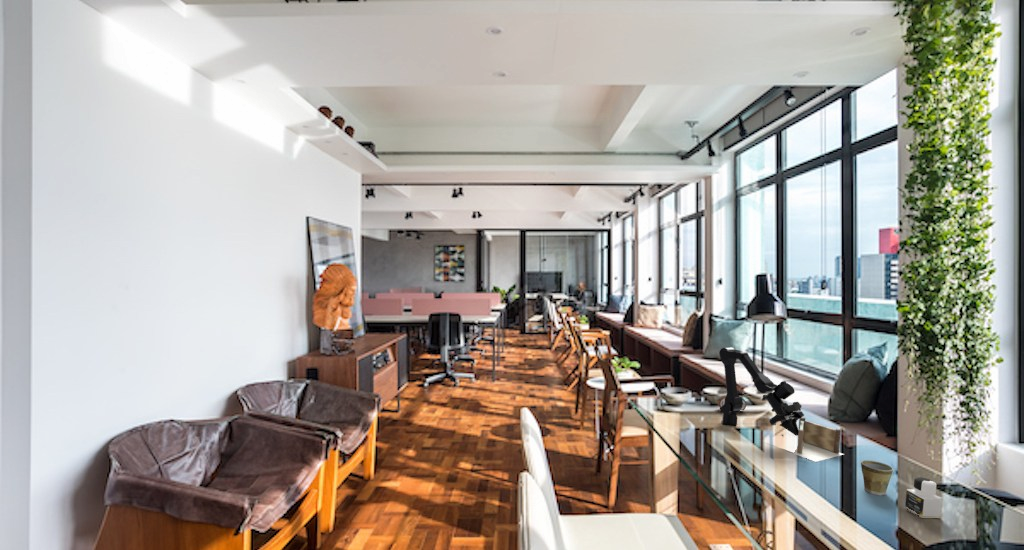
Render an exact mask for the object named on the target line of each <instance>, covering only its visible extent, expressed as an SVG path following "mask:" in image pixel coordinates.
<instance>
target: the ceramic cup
mask: <svg viewBox="0 0 1024 550" xmlns="http://www.w3.org/2000/svg"><path fill="white" fill-rule="evenodd" d="M860 468H861V472H862V478H863V487H864V491H866V492H868V493H869V494H872V495H877V496H886V494H887V489H888V486H889V484H890V481H891V478H892V476H893V472H894V468H893V467H892V466H891V465H889V464H886V463H884V462H880V461H876V460H869V459H868V460H867V459H866V460H861V461H860Z"/></svg>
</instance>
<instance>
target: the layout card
mask: <svg viewBox="0 0 1024 550" xmlns="http://www.w3.org/2000/svg"><path fill="white" fill-rule="evenodd" d="M803 447H804V448H802V453H798V452H797V449H796V450H795V452H794V453H792V454H794V455H796V456H799V457H802V458H803V459H805V458H807V459H809V460H808V461H810V460H812V461H811V462H813V461H814V462H813V463H815V462H816V463H818V462H822V461H824V460H828V459H832V458H836V457H840V456H842V455H843V456H844V455H845V453H842V452H839V454H836V453H834V452H833V451H831V450H828V449H825V448H822V447H819V446H816V445H813V444H810V443H807V442H804V441H803ZM807 459H806V460H807Z"/></svg>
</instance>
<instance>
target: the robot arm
mask: <svg viewBox="0 0 1024 550" xmlns="http://www.w3.org/2000/svg"><path fill="white" fill-rule="evenodd" d="M718 352H719V353H718V354H719V358H720V361H721V363H722V364H723V366H724V367H723V368H724V376H725V386H726V394H725V395H726V397H725V404H724V405H723V406H722V407H719V411H720V413H722V415H721V416H722V417H721V424H722V425H723V426H727V427H728V426H729V427H737V425H738V416H737V414H739V413H740V412H739V411H740V410H741V408H742V405H743V402H742V398H743V396H740V395H739V393H738V387H737V378H736V367H735V364H736V362H737V360H739V362H740V363H741V365H742V366H743V367H744V368H745V369H746V371H747V373H748V374H749V375H750V376H751V378H752V379H753V383H754V386H755V388H756V390H757V392H759V393H761V394H762V399H761V401H767V402H768V404H769V405H770V407H771V408H772V409H771V412H772V413H775V414H776V415H774V416H773V417H771V418H770V419H769V424H770V426H771V427H775V426H776V425H777V423H779V422H780V424H779V426H780V427H782V428H783V429H785V430H787V431H788V432H790V433H792V434H793V435H794V436H796V437H798V432H799V426H798V423H797V422H798V420H799V419H800V418H801V417H804V416H805V414H804V413H803V411H802V404H801V403H800V402H799V401H793V402H792V404H788V403H787V402H784V401H783V400H786V399H788V398H789V397H791V396H792V395H794V394H795V389H794V387H793V385H790V384H789V383H787V381H786V380H783V381H781V382H780V383H779V384H775V383H774V382H773V381H772V379H770V378H769V377H768V376H766V375H765V374H763V373H762V371H761V370H760V369H759V367H758V366H757V365H756V364H755V362H754V361H753V360H752V358H751V357H750V355H749V353H748V352H747V351H743V350H738V349H736V348H734V347H722V348H721V349H720V350H719V351H718Z"/></svg>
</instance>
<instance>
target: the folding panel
mask: <svg viewBox="0 0 1024 550" xmlns="http://www.w3.org/2000/svg"><path fill="white" fill-rule="evenodd" d="M803 424H804V421H801V423H800V430H799V429H798V430H799V432H798V435H797V438H798V446H797V452H798V453H802V448H803V435H804V430H803Z"/></svg>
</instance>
